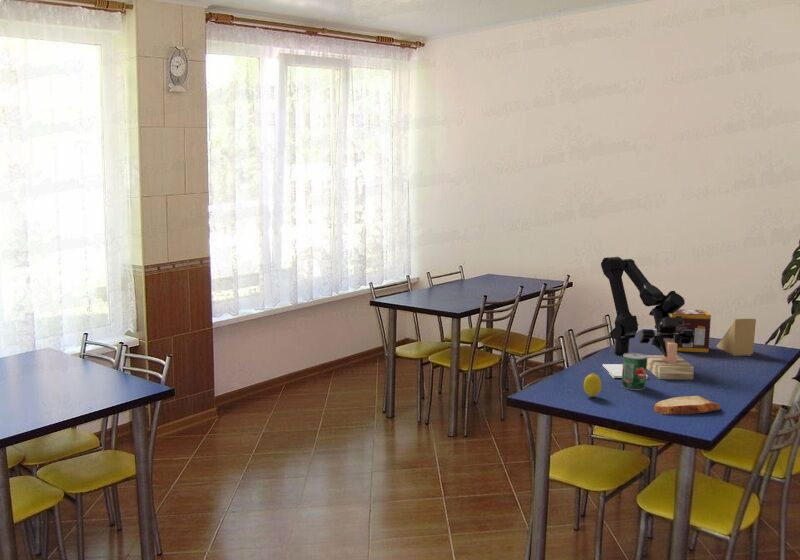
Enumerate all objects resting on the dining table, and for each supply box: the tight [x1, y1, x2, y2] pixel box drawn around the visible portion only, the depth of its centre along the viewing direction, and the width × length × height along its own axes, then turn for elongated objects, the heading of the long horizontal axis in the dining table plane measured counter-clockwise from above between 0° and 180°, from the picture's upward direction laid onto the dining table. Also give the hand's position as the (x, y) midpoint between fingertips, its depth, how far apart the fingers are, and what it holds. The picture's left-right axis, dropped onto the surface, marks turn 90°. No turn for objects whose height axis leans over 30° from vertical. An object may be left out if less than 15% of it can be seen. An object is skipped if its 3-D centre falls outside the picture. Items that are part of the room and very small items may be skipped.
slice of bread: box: [653, 395, 721, 415], centre depth 242 cm, size 18×18×4 cm
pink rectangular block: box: [662, 339, 678, 363], centre depth 283 cm, size 6×3×10 cm, turn 0°
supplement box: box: [664, 308, 712, 353], centre depth 320 cm, size 10×15×16 cm
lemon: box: [583, 372, 602, 398], centre depth 254 cm, size 6×6×8 cm
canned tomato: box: [621, 352, 648, 391], centre depth 265 cm, size 8×8×11 cm
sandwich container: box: [715, 318, 757, 356], centre depth 317 cm, size 9×15×15 cm, turn 3°
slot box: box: [645, 354, 695, 380], centre depth 283 cm, size 16×12×4 cm
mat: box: [601, 363, 649, 380], centre depth 284 cm, size 16×12×1 cm
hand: (670, 356), depth 281 cm, fingers closed on pink rectangular block, 3 cm apart
